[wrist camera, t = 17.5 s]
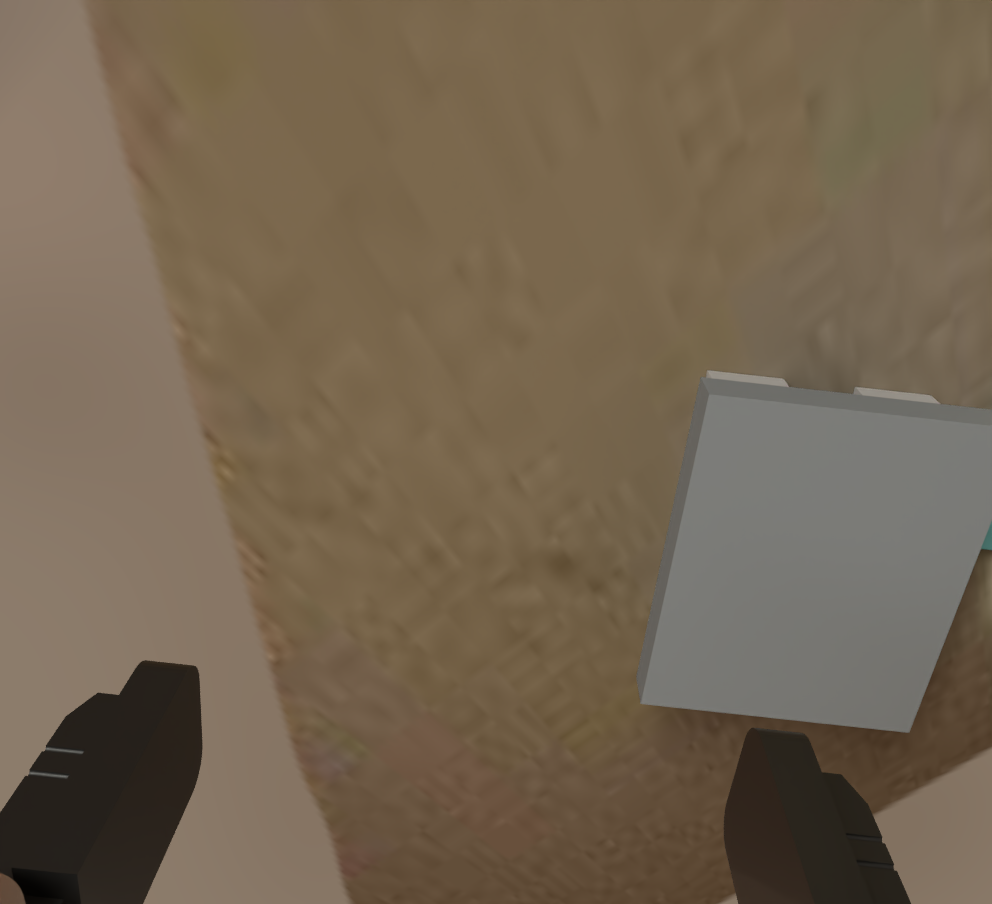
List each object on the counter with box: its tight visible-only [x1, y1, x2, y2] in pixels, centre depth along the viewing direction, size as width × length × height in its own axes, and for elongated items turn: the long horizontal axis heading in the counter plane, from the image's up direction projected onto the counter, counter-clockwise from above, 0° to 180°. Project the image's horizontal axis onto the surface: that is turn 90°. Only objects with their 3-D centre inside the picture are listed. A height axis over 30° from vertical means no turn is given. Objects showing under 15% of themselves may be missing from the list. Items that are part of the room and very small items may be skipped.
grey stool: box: [636, 370, 992, 733], centre depth 42 cm, size 16×13×6 cm
